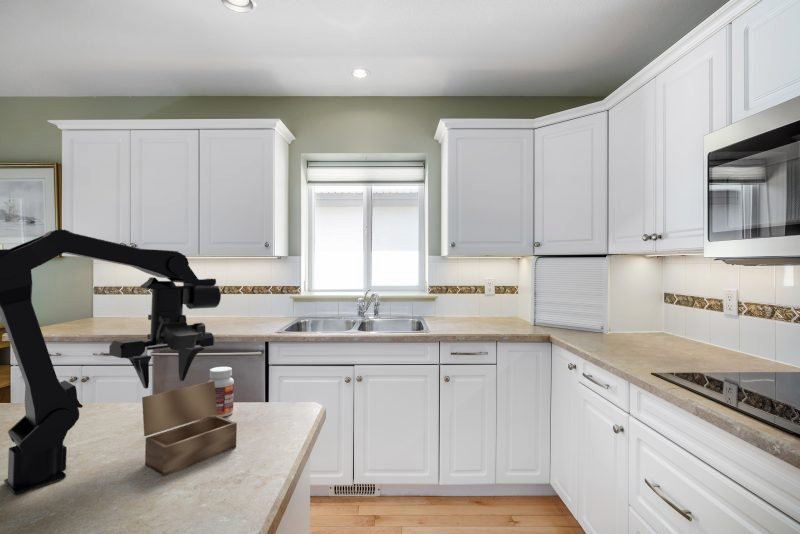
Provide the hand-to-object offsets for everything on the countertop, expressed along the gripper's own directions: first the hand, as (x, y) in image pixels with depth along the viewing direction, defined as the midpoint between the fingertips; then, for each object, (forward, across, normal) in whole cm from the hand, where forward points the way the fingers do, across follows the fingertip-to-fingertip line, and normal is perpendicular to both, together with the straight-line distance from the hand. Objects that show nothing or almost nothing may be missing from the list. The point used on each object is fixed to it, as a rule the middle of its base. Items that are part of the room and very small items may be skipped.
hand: (164, 384), depth 83 cm
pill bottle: (+12, +16, +5) cm, 21 cm away
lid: (+3, 0, -7) cm, 8 cm away
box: (+12, 0, -12) cm, 17 cm away
